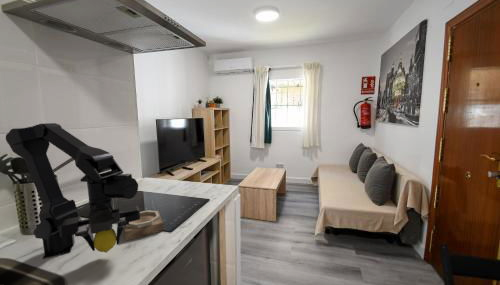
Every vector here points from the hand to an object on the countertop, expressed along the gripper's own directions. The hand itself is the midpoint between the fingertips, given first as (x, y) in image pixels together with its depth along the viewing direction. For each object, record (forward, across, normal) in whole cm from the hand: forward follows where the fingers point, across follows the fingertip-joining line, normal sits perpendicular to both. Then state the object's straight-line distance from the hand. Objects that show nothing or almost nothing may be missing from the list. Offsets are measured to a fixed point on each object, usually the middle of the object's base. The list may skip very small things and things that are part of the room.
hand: (106, 246), depth 64 cm
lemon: (+2, 0, 0) cm, 2 cm away
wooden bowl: (+3, +11, +13) cm, 17 cm away
